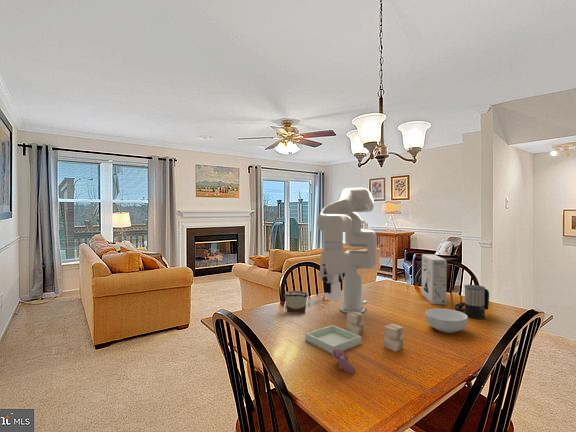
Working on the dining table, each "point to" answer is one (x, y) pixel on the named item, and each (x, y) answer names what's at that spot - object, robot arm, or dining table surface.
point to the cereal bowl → (446, 320)
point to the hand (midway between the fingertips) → (333, 290)
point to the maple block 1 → (355, 322)
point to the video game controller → (343, 361)
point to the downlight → (334, 289)
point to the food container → (296, 301)
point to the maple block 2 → (393, 337)
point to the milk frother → (475, 301)
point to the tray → (333, 338)
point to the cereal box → (434, 278)
